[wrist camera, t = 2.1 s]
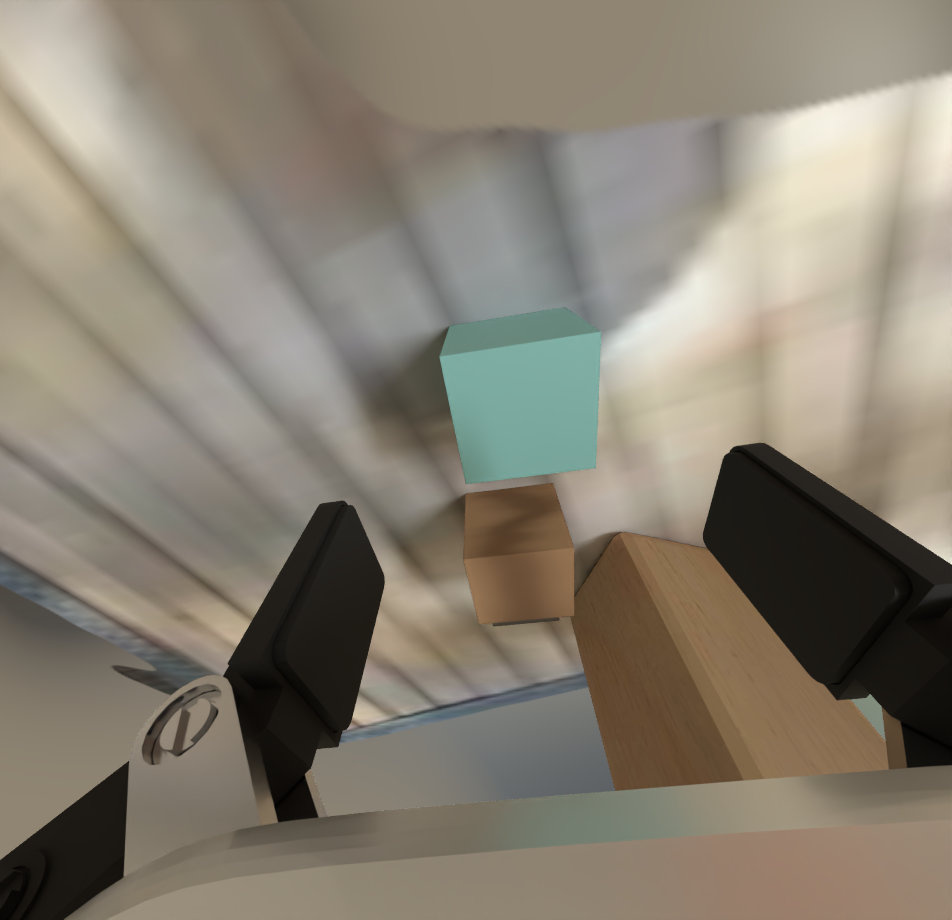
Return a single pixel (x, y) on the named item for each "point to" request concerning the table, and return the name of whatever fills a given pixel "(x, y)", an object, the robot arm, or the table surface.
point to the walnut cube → (518, 554)
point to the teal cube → (523, 394)
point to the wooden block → (702, 678)
